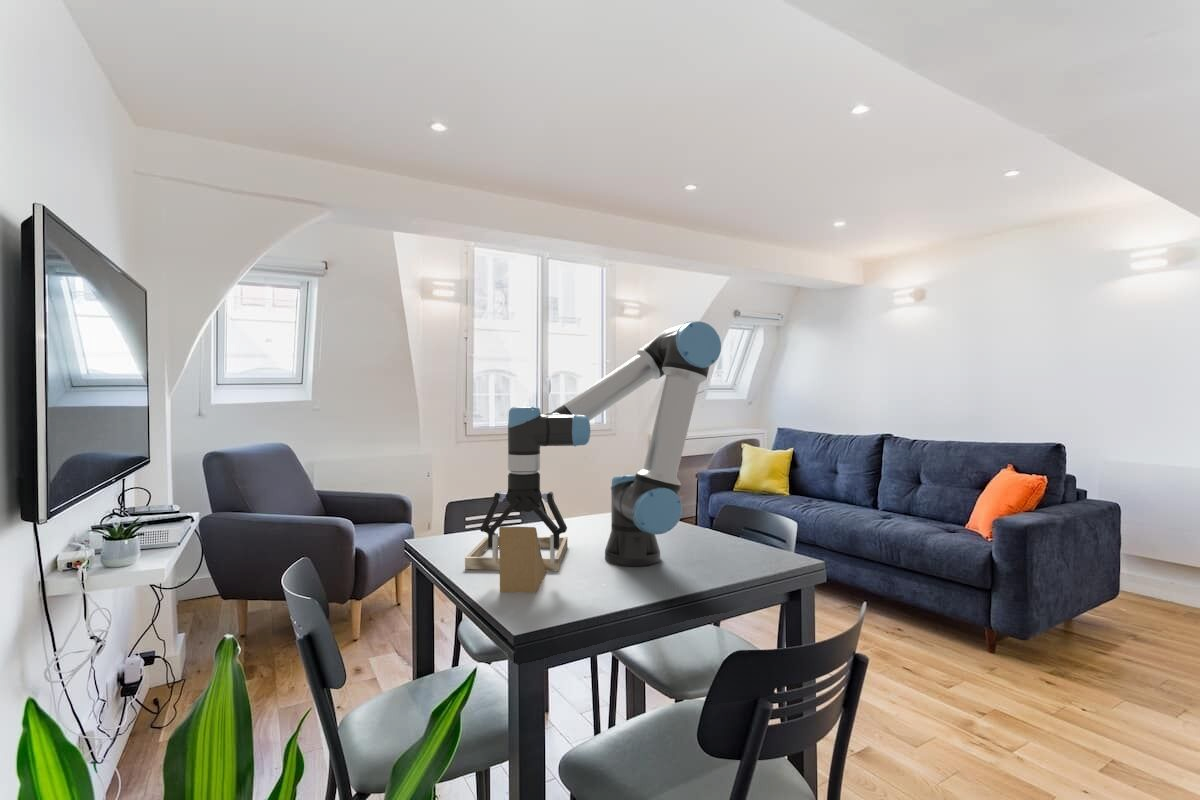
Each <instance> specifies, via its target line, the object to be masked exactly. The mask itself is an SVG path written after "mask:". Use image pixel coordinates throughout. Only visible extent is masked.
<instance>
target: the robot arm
mask: <svg viewBox="0 0 1200 800" xmlns="http://www.w3.org/2000/svg"><path fill="white" fill-rule="evenodd" d="M721 351H722V342H721V337H720V335H719V334H718V332H717V331H716V329H715V328H714V327H713V326H712V325H710V324H709V323H707V322H704V321H699V320H698V321H697V320H695V321H694V320H693V321H686V322H684V323H683V324H679V325H675V326H671V327H669V328H667V329H665V330H664V331H662V332H661V333H659V334H658V335H657V336H656V337H655V338H653V339H652V340H651V341H649V342H648V343H646V344H645V345H643V346H642V347H641V348H640V349H638V350H637V352H636V356H634V357H632V358H631V359H629V360H628V361H626V362H625V363H624V364H622V365H620V366H619V367H617V368H616V369H615V370H613V371H612V372H610V373H609V374H607V375H606V376H604V377H602V378H601V379H599V380H598V381H597V382H595V383H593V384H592V385H590V386H589V387H588V388H585V390H583V391H581V392H580V393H578V394H577V395H576V396H574V397H572V398H571V399H570V400H568V401H567V402H564V404H562V405H560V406H559V407H557V408H556V409H554V410H553V411H552V412H547V413H546V414H542V413H541V409H540V407H538V406H512V407H511V408H510V409H509V410H508V420H507V451H508V452H507V453H508V454H507V470H508V471H509V473H508V474H507V492H501V491H500V490H499V491H496V492H495V493H494V495H493V502H492V504H491V507H490V508H489V510H488V512H487V514H486V516H485V518H484V521H483V523H482V524H481V526H480V529H479V530H480V532H482V533H486V534H487V536H488V546H489V548H491V549H492V551H491V552H492V553H491V554H492V556H491V557H492V563H496V562H497V560H498V557H499V547H498V536H499V532H496V530H497V529H499V528H500V527H501V524H502V523H503V522H504V521H505V520H506V518H507V517H508V516H509V515H510V513H512V511H515V512H517V513H522V512H526V513H530V512H532V511H533V512H534V513H535V514H536V515H537V516H538V517H539V518H540V520H541V521H542V523H544V525H545V526H546V527H547V528H548V529H549V530H550V532H551V534H550V536H549V537H550V548H549V549H550V550H549V558H550V564H553V563H554V561H555V557H556V555H555V554H556V550H557V549H558V550H559V548H558V547H559V537H560V535H561V534H563V533H564V534H565V533H566V532H567V531H568V530H567V529H568V526H567V525H566V522H565V520H564V518H563V517H562V514H561V512H560V510H559V508H558V505H557V504H556V502H555V498H554V492H553V491H548V492H546V493H545V492H544V493H542V492H541V473H540V472H539V471H540V470H541V447H578V446H579V447H580V446H586V445H588V443H589V441H590V438H591V423H590V421H591V420H593V419H594V418H596V417H597V416H598V415H600V414H602V413H603V412H605V411H606V410H608V409H610V408H611V407H612V406H614V405H615V404H617V403H618V402H620V401H621V400H623V399H624V398H625V397H627V396H629V395H630V394H632V393H633V392H634V391H636V390H637V389H639V388H640V387H642V386H644V384H646V383H647V382H649V381H650V380H652V379H654V380H659V379H660V378H662V377H664V376H665V380H664V385H663V387H662V388H663V389H662V392H661V396H660V400H659V404H658V408H657V412H656V416H655V420H654V425H653V429H652V433H651V436H650V441H649V445H648V448H647V452H646V456H645V461H644V466H643V467H642V468H640V469H639V470H638V471H636V473H635V474H633V475H632V474H631V475H629V474H627V475H615V476H613V477H612V479H611V486H610V491H611V493H610V494H611V498H610V499H611V501H610V503H611V504H610V505H611V506H610V507H611V517H610V518H611V523H610V524H611V525H610V526H611V528H610V529H611V530H610V534H609V537H608V541H607V543H606V547H605V550H604V560H605V561H606V562H607V563H611V564H613V565H616V566H617V565H618V566H625V567H646V566H651V565H655V564H657V563H659V562H660V561H661V549H660V546H659V543H658V539H657V537H656V535H663V534H666V533H668V532H670V531H671V530H673V529H674V528H675V527H676V526H677V525H678V523H679V522H680V520H681V517H682V513H683V505H682V501H681V499H680V497H679V494H680V491H681V487H682V486H681V485H682V483H681V481H680V479H679V478H678V473H679V468H680V465H681V461H682V456H683V451H684V448H685V444H686V439H687V435H688V432H689V427H690V424H691V423H690V422H691V418H692V414H693V411H694V407H695V406H694V405H695V403H696V397H697V393H698V389H699V386H700V385H701V383H703V382H705V381H707V378H708V375H709V370H710V367H711V366H713V365H714V363H716V361H717V360H718V359H719V358H720V355H721ZM505 499H506V500H507V502H508V504H509V506H507V507H506V509H505V510H504V511H503V513H502V514H501V515H500V516H499V518H497V520H496V521H495V522H494V523H493V525H492V526H490V525H491V523H492V520H493V518H494V515H495V514H496V512H497V510H498V508H499V506H500V503H502V502H503V501H504V500H505ZM542 499H543V500H544V502H545V503H547V505H548V507H549V510H550V511H551V513H552V515H553V517H554V520H555V521H556V523H557V525H558V526H557V525H556V523H555V522H554V521H553V520H552V519H551V518H550V516H549V515H548V514H547V512H545V510H544V509H543V507H542V506H541V504H540V502H541V500H542ZM489 548H488V549H489Z"/></svg>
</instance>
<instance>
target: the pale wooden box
mask: <svg viewBox="0 0 1200 800" xmlns="http://www.w3.org/2000/svg"><path fill="white" fill-rule="evenodd" d="M537 537H538V542H539V547H540V549H541V548H542V549H550V536H537ZM498 546H499V535H498ZM488 547H489V546H488V535H486V536H485V537H484V539H482V540H481V542H479V543H478V544H477V545H476V546H475V547H474V548H473V549H472V550H471V551H470V552H469V553H468V554H467V556H465V557H464V570H466V569H486V570H485V571H500V556H498V560H497V562H496V563H492V556H483V555H482V554H483V553H484V554H485V552H486V551H487V550H488V549H489V548H488ZM487 548H488V549H487ZM486 549H487V550H486ZM567 549H568V537H567V536H559V547H558V550H557V551H556V555H555V561H554V563H553V564H550V557H542V559H543V564H544V567H545V570H560V567H561V565H562V562H563V559H564V557H565V554H566V552H567ZM485 550H486V551H485ZM481 555H482V556H481ZM480 556H481V557H480Z"/></svg>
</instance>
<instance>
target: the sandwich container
mask: <svg viewBox="0 0 1200 800" xmlns="http://www.w3.org/2000/svg"><path fill="white" fill-rule="evenodd" d="M498 536H499V547H498V554H499V557H500V570H499V592H500V593H517V592H525V593H524V594H528V593H529V594H535V593H536V592H537V591H538V589H539V588H540V587H541V585H542V582H543V581H544V578H545V577H546V575H547V572H546V571H545V567H544V564H543V559H542V558H543V556H542V555H543V554H542V551H541V548H540V547H539V542H538V537H539V536H538V532H537V528H536V527H534V526H499V527H498ZM545 574H546V575H545ZM544 576H545V577H544ZM542 580H543V581H542ZM540 584H541V585H540ZM527 592H528V593H527ZM534 592H535V593H534Z"/></svg>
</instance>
